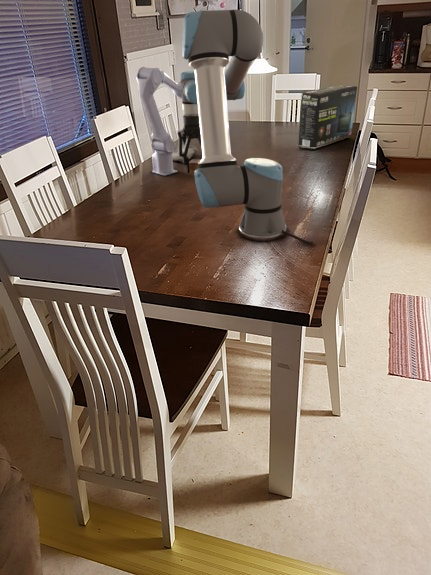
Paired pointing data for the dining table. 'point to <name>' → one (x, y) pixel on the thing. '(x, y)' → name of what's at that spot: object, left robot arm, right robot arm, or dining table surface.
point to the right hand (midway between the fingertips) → (195, 171)
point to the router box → (326, 115)
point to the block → (193, 165)
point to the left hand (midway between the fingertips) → (194, 149)
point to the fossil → (191, 151)
